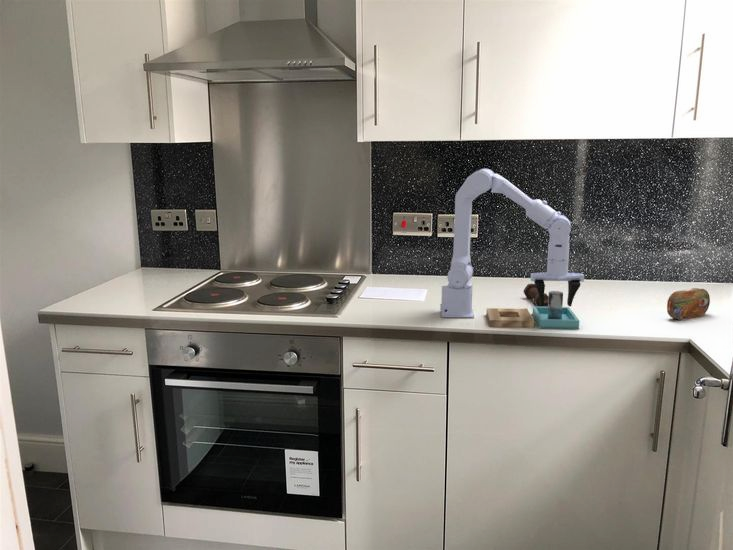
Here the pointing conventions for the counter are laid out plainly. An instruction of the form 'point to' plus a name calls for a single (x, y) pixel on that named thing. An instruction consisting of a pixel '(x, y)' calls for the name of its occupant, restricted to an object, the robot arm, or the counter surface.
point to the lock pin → (555, 305)
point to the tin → (688, 303)
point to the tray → (566, 322)
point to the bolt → (535, 295)
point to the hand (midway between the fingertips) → (555, 305)
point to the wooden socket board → (509, 317)
